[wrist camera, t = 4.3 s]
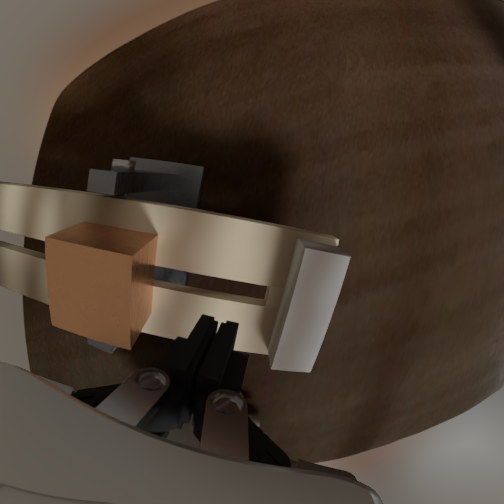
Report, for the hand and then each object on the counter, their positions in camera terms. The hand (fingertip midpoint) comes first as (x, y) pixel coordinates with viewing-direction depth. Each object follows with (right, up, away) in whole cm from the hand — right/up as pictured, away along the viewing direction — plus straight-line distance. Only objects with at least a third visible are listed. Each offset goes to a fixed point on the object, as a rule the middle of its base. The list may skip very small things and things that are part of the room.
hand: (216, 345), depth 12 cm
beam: (-9, +3, +8) cm, 12 cm away
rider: (-8, +3, +8) cm, 12 cm away
